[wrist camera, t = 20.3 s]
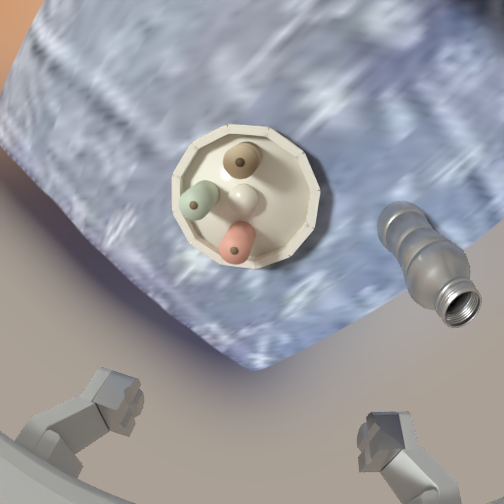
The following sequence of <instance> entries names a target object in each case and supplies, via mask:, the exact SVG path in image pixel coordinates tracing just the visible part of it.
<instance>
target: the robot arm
mask: <svg viewBox="0 0 504 504" xmlns="http://www.w3.org/2000/svg"><path fill="white" fill-rule="evenodd" d="M140 385H141V384H140V381H139V379H137V378H134V377H131V376H128V375H125V374H122V373H119V372H116V371H113V370H110V369H107V368H103V367H101V368H100V369H98V371H97V372H96V374H95V375H94V377H93V378H92V380H91V381H90V383H89V384H88V386H87V387H86V389H85V390H84V392H83V393H82V395H81V396H80V397H79V396H76V397H73V398H71V399H69V400H67V401H65V402H63V403H61V404H59V405H56V406H55V407H52V408H50V409H48V410H46V411H44V412H41V413H39V414H37V415H35V416H33V417H31V418H30V419H29V420H28V422H27V423H26V425H25V426H24V428H23V429H22V431H21V432H20V434H19V435H18V437H17V438H16V440H15V441H13V440H12V439H10V438H9V437H8V436H6V435H5V434H4V433H2V432H1V431H0V504H135V503H132V502H130V501H127V500H124V499H122V498H119V497H117V496H114V495H112V494H109V493H107V492H105V491H102V490H100V489H98V488H96V487H93V486H91V485H89V484H87V483H85V482H83V481H81V480H79V479H77V478H78V476H79V474H80V472H81V470H82V468H83V465H82V463H81V462H80V461H79V459H78V458H77V457H76V456H75V454H76V453H78V452H79V451H81V450H82V449H84V448H85V447H87V446H88V445H90V444H91V443H93V442H94V441H96V440H97V439H99V438H100V437H102V436H103V435H105V434H106V433H108V432H109V430H110V431H113V432H116V433H119V434H122V435H125V436H128V437H129V436H130V434H131V432H132V430H133V428H134V426H135V420H134V418H135V417H136V416H138V415H140V413H141V411H142V409H143V404H144V395H143V392H142V391H141V390H140V389H139V387H140ZM366 420H367V422H366V423H364V424H362V425H361V427H360V429H359V432H358V436H357V447H358V448H359V450H360V451H361V452H362V453H361V454H360V455H359V457H358V461H359V472H380V473H381V475H382V476H383V477H384V479H385V480H386V482H387V483H388V485H389V486H390V487H391V489H392V490H393V491H394V493H395V494H396V496H397V497H398V499H399V500H400V502H401V503H402V504H462V503H461V498H460V492H459V487H458V483H457V482H456V481H455V480H454V479H453V478H452V477H451V476H450V475H449V474H448V473H447V472H446V471H445V470H444V469H443V468H442V467H441V466H440V465H439V464H438V463H437V462H436V461H435V460H434V459H433V458H432V457H431V456H430V455H429V454H428V453H427V452H426V451H425V450H424V449H423V448H419V446H418V442H417V437H416V433H415V429H414V425H413V420H412V417H411V414H410V412H407V411H406V412H371V413H369V414H368V416H367V417H366ZM487 504H504V497H502V498H500V499H497V500H495V501H492V502H490V503H487Z"/></svg>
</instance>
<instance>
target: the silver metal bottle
mask: <svg viewBox="0 0 504 504" xmlns="http://www.w3.org/2000/svg"><path fill="white" fill-rule="evenodd" d="M377 231H378V236H379V239H380V241H381V243H382V244H383V246H384V247H385V248H386V249H387V250H388V251H390V252H391V253H392V254H393V255H394V256H395V257H396V259H397V260H398V262H399V264H400V266H401V269H402V271H403V274H404V278H405V282H406V286H407V289H408V292H409V294H410V296H411V298H412V299H413V300H414V301H415V302H416V303H417V304H419V305H420V306H422V307H423V308H426V309H431V310H436V312H437V314H438V315H439V316H440V317H441V318H442V320H443V322H444V323H445V324H446V325H447V326H448V327H451V328H459V327H462V326H464V325H466V324H467V323H469V322H470V321H471V320H473V318H474V317H475V316H476V315H477V313H478V312H479V310H480V307H481V303H482V300H481V299H482V298H481V295H480V293H479V292H478V290H477V289H476V288H475V286H474V284H473V283H472V281H471V280H470V265H469V263H468V259H467V257H466V254H465V253H464V251H463V250H462V249H461V248H460V247H458V246H457V245H456V244H455V243H453V242H451V241H450V240H448V239H446V238H445V237H443V236H441V235H440V234H439V233H438V232H437V231H436V230H434V229H433V228H432V226H431V225H430V224H429V222H428V220H427V218H426V216H425V215H424V213H423V212H422V210H421V209H420V208H419V207H418V206H416V205H415V204H412V203H410V202H406V201H397V202H394V203H392V204H390V205H388V206H387V207H386V208H385V209H384V210H383V211H382V213H381V214H380V216H379V218H378V222H377Z"/></svg>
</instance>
